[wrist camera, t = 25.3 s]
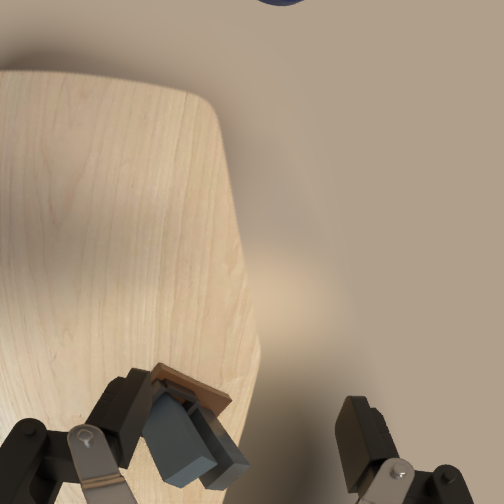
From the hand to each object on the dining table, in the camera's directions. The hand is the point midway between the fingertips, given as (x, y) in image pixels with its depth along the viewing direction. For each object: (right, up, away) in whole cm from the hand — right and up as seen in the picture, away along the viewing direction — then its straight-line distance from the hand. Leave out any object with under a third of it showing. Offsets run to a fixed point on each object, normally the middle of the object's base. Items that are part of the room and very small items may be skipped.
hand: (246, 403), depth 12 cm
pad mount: (-9, -13, +24) cm, 29 cm away
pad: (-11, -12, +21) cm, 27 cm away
